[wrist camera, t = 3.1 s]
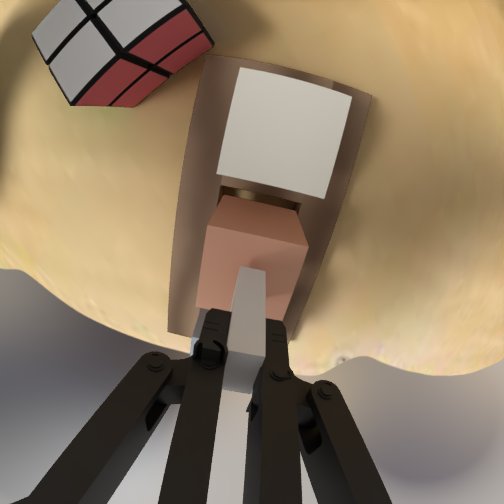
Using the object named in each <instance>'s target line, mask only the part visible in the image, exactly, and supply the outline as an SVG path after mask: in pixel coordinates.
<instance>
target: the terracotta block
mask: <svg viewBox="0 0 504 504" xmlns="http://www.w3.org/2000/svg"><path fill="white" fill-rule="evenodd" d="M308 248H309V246H308V243H307V241H306V238H305V235H304V232H303V229H302V227H301V224H300V221H299V218H298V216H297V213H296V211H294V210H290V209H286V208H282V207H278V206H273V205H269V204H265V203H260V202H256V201H251V200H247V199H242V198H237V197H233V196H228V195H223V197H222V199H221V201H220V202H219V204H218V206H217V208H216V210H215V212H214V213H213V215H212V217H211V219H210V221H209V223H208V225H207V230H206V236H205V242H204V249H203V255H202V262H201V269H200V276H199V283H198V291H197V298H196V306H195V307H200V308H204V309H209V310H210V309H211V308H216V309H220V310H225V311H230V309H231V303H232V299H233V294H234V290H235V286H236V281H237V277H238V272H239V268H240V266H244V267H248V268H253V269H258V270H263V271H266V318H269V319H274V320H280V321H283V318H284V315H285V313H286V310H287V307H288V305H289V302H290V299H291V296H292V294H293V291H294V288H295V285H296V283H297V280H298V277H299V274H300V271H301V268H302V265H303V263H304V260H305V257H306V254H307V251H308Z"/></svg>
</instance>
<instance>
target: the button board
mask: <svg viewBox="0 0 504 504" xmlns="http://www.w3.org/2000/svg"><path fill="white" fill-rule="evenodd" d="M240 67H242V68H248V69H253V70H259V71H264V72H268V73H273V74H277V75H282V76H286V77H290V78H294V79H298V80H301V81H305V82H309V83H312V84H315V85H319V86H322V87H325V88H328V89H331V90H334V91H337V92H340V93H343V94H346V95H349V96H351V97H352V99H351V103H350V107H349V111H348V115H347V119H346V123H345V127H344V131H343V135H342V139H341V142H340V146H339V150H338V153H337V157H336V160H335V164H334V167H333V171H332V174H331V178H330V181H329V185H328V188H327V191H326V195H325V198H324V199H322V198H318V197H315V196H311V195H307V194H303V193H299V192H295V191H291V190H287V189H283V188H279V187H275V186H271V185H266V184H262V183H258V182H253V181H249V180H244V179H239V178H235V177H230V176H225V175H220V174H216V173H217V168H218V163H219V158H220V153H221V148H222V143H223V139H224V134H225V129H226V125H227V120H228V116H229V111H230V107H231V103H232V98H233V94H234V90H235V86H236V82H237V78H238V74H239V70H240ZM371 98H372V95H369V94H367V93H364V92H362V91H359V90H357V89H354V88H351V87H349V86H346V85H343V84H340V83H337V82H334V81H331V80H328V79H325V78H322V77H319V76H315V75H312V74H309V73H305V72H301V71H298V70H294V69H290V68H286V67H282V66H277V65H273V64H268V63H263V62H258V61H253V60H247V59H241V58H234V57H227V56H219V55H210V54H206V58H205V62H204V66H203V70H202V74H201V78H200V82H199V86H198V90H197V95H196V99H195V104H194V109H193V113H192V118H191V123H190V128H189V134H188V139H187V145H186V150H185V156H184V162H183V168H182V175H181V182H180V188H179V196H178V203H177V211H176V220H175V229H174V238H173V249H172V260H171V273H170V287H169V306H168V332H170V333H174V334H178V335H182V336H186V337H190V338H192V335H193V331H194V328H195V325H196V322H197V318H198V315H199V312H200V309H201V308H200V307H195V306H196V298H197V291H198V283H199V276H200V269H201V262H202V255H203V249H204V242H205V236H206V230H207V225H208V223H209V221H210V219H211V217H212V215H213V213H214V212H215V210H216V208H217V206H218V204H219V202H220V201H221V196H222V190H223V186H228V187H233V188H238V189H243V190H247V191H252V192H256V193H261V194H265V195H269V196H274V197H278V198H282V199H286V200H290V201H294V202H296V205H295V209H294V211H296V213H297V216H298V218H299V221H300V224H301V227H302V229H303V232H304V235H305V238H306V241H307V243H308V246H309V248H308V251H307V254H306V257H305V260H304V263H303V265H302V268H301V271H300V274H299V277H298V280H297V283H296V285H295V288H294V291H293V294H292V296H291V299H290V302H289V305H288V307H287V310H286V313H285V315H284V318H283V321H282V322H283V324H284V326H285V327H286V332H287V344H289V342H290V339H291V337H292V335H293V332H294V330H295V328H296V325H297V323H298V321H299V318H300V316H301V314H302V311H303V309H304V306H305V304H306V301H307V299H308V296H309V294H310V291H311V289H312V286H313V284H314V281H315V279H316V276H317V273H318V271H319V268H320V266H321V263H322V260H323V257H324V255H325V252H326V249H327V246H328V244H329V241H330V238H331V235H332V232H333V229H334V227H335V224H336V221H337V218H338V215H339V212H340V209H341V206H342V202H343V199H344V196H345V193H346V190H347V187H348V183H349V180H350V177H351V174H352V170H353V167H354V163H355V160H356V156H357V153H358V149H359V146H360V142H361V138H362V135H363V131H364V127H365V123H366V119H367V115H368V111H369V107H370V103H371Z"/></svg>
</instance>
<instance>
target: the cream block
mask: <svg viewBox="0 0 504 504" xmlns="http://www.w3.org/2000/svg"><path fill="white" fill-rule="evenodd" d="M351 99H352V97H351V96H349V95H346V94H343V93H340V92H337V91H334V90H331V89H328V88H325V87H322V86H319V85H315V84H312V83H309V82H305V81H301V80H298V79H294V78H290V77H286V76H282V75H277V74H273V73H268V72H264V71H259V70H253V69H248V68H242V67H240V70H239V74H238V78H237V82H236V86H235V90H234V94H233V98H232V103H231V107H230V111H229V116H228V120H227V125H226V129H225V134H224V139H223V143H222V148H221V153H220V158H219V163H218V168H217V173H216V174H220V175H225V176H230V177H235V178H239V179H244V180H249V181H253V182H258V183H262V184H266V185H271V186H275V187H279V188H283V189H287V190H291V191H295V192H299V193H303V194H307V195H311V196H315V197H318V198H322V199H324V198H325V195H326V191H327V188H328V185H329V181H330V178H331V174H332V171H333V167H334V164H335V160H336V157H337V153H338V150H339V146H340V142H341V139H342V135H343V131H344V127H345V123H346V119H347V115H348V111H349V107H350V103H351Z"/></svg>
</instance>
